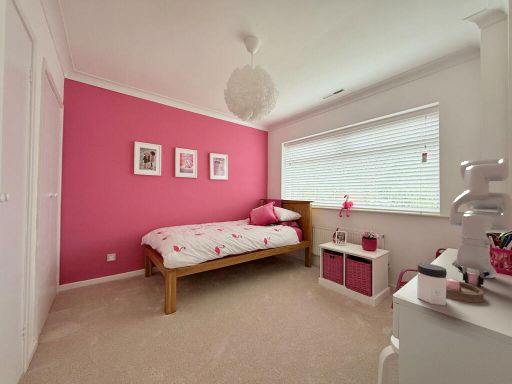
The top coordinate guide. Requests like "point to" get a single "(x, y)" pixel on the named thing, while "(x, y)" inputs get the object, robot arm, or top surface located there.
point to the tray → (466, 293)
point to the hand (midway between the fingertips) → (472, 283)
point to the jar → (431, 283)
